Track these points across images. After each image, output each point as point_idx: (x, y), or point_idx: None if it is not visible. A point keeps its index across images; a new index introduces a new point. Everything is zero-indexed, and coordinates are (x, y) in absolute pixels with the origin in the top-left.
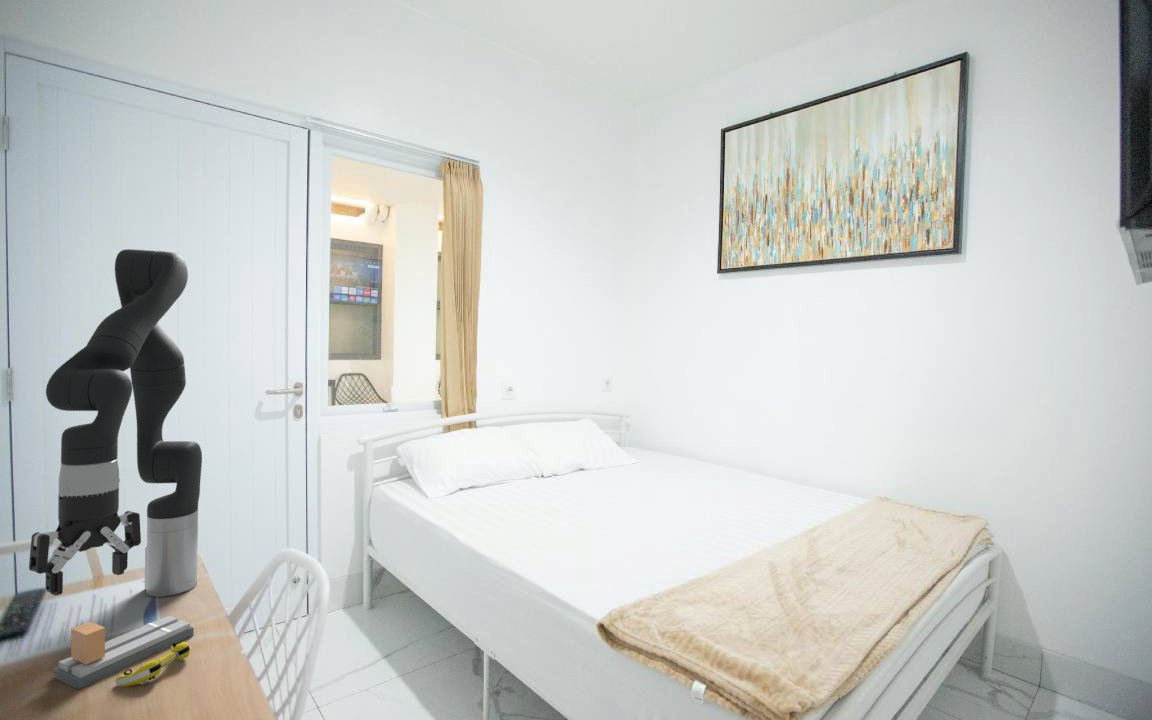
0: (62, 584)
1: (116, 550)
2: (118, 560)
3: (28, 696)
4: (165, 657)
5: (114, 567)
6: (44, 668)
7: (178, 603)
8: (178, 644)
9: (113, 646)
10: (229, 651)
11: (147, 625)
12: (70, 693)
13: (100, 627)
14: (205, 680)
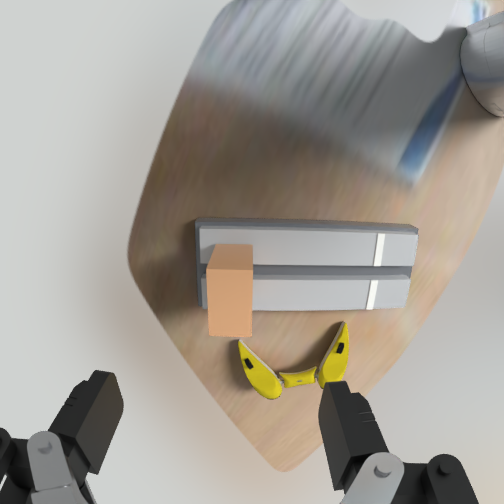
0: (112, 434)
1: (353, 480)
2: (331, 460)
3: (150, 245)
4: (297, 384)
5: (330, 410)
6: (206, 161)
7: (469, 144)
8: (329, 380)
9: (288, 264)
10: (369, 385)
11: (375, 238)
12: (190, 298)
13: (246, 328)
14: (301, 417)
